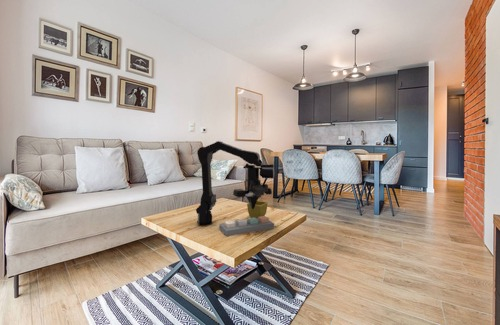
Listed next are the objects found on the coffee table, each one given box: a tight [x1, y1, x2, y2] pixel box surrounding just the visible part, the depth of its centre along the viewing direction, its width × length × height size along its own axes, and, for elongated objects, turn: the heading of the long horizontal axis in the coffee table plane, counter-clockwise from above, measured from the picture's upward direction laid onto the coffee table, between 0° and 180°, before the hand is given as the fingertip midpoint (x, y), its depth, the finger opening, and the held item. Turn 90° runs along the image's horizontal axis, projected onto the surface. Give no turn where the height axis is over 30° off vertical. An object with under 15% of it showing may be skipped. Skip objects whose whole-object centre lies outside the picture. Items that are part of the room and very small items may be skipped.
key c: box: [246, 217, 258, 225], centre depth 112 cm, size 4×4×3 cm
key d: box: [258, 215, 270, 223], centre depth 115 cm, size 4×4×3 cm
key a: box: [223, 220, 236, 228], centre depth 107 cm, size 4×4×3 cm
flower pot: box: [246, 200, 268, 219], centre depth 127 cm, size 9×9×9 cm
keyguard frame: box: [218, 219, 275, 237], centre depth 111 cm, size 25×10×2 cm, turn 116°
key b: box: [235, 218, 247, 227], centre depth 110 cm, size 4×4×3 cm
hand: (252, 209), depth 112 cm, fingers closed
